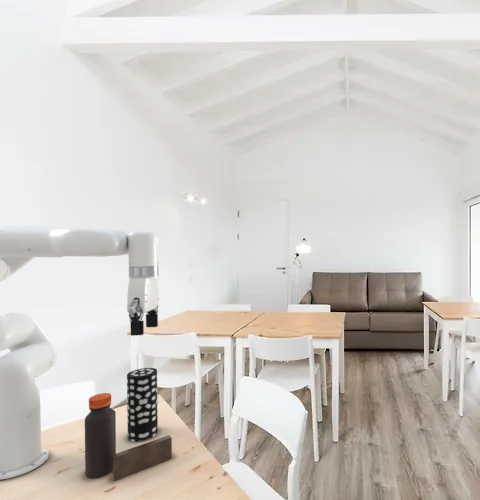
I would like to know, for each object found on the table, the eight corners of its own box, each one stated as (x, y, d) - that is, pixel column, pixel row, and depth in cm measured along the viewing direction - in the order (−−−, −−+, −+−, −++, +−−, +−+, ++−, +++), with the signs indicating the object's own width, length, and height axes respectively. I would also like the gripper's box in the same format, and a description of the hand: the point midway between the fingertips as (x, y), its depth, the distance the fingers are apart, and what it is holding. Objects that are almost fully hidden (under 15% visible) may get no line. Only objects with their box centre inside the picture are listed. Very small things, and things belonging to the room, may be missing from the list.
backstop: (113, 481, 91) (113, 458, 90) (111, 477, 92) (111, 454, 92) (171, 458, 100) (171, 437, 100) (169, 455, 102) (169, 434, 102)
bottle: (113, 474, 93) (112, 399, 93) (81, 481, 91) (80, 404, 90) (118, 460, 99) (117, 389, 99) (89, 466, 97) (88, 393, 97)
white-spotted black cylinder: (144, 443, 108) (143, 378, 108) (121, 440, 110) (120, 376, 109) (163, 429, 116) (163, 368, 116) (141, 426, 118) (141, 367, 118)
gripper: (143, 270, 111) (144, 324, 112) (114, 275, 94) (115, 339, 95) (168, 270, 112) (169, 323, 113) (144, 274, 95) (145, 338, 96)
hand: (144, 330), depth 104 cm, fingers open, 9 cm apart
